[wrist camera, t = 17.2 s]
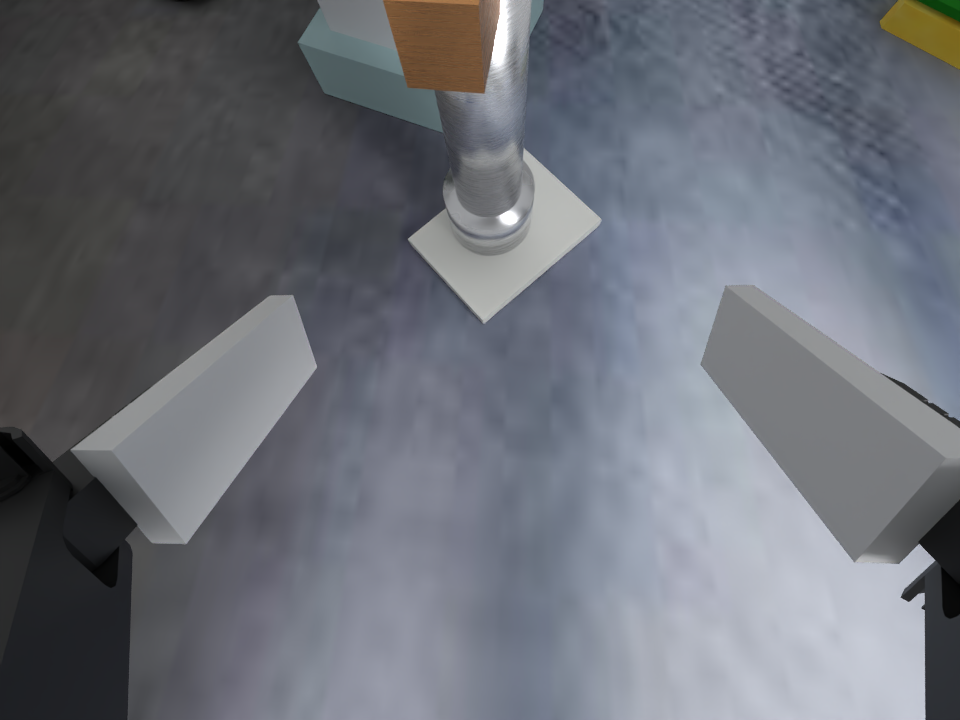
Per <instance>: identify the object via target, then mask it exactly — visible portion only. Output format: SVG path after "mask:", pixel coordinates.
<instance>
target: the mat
mask: <svg viewBox="0 0 960 720" xmlns="http://www.w3.org/2000/svg"><path fill="white" fill-rule="evenodd" d="M523 160H524V161H525V162H526V164H527V165H528V166H529V168H530V170H531V171H532V174H533V177H534V181H535V192H534V201H533V211H532V220H531V226H530V229H529V232H528V234H527V236H526V237H525V239H524V240H523V241H522V242H521V243H520V244H519V245H518V246H517V247H516V248H514V249H513V250H511V251H509V252H507V253H504V254H501V255H496V256H483V255H478V254H475V253H473V252H470V251H469V250H467V249H465V248H464V247H463V246H462V245H461V244H460V243H459V242H458V241H457V239H456V238H455V236H454V234H453V231H452V228H451V224H450V220H449V217H448V213H447V209H446V208H445V209H444V210H443V211H442V212H440V213H439V214H438V215H437V216H435V217H434V218H433V219H432V220H431V221H429V222H428V223H427V224H426V225H424V226H423V227H422V228H421V229H419V230H418V231H417V232H416V233H414V234H413V235H412V236H411V237H410V238H408V240H409V242H410V244H411V246H412V247H413V248H414V249H415V250H416V251H417V252H418V253H419V254H420V255H421V256H422V258H423V259H424V260H425V261H426V262H427V263H428V264H429V265H430V266H431V267H432V269H433V270H434V271H435V272H436V273H437V274H438V275H439V276H440V277H441V278H442V279H443V281H444V282H445V283H446V284H447V285H448V286H449V287H450V288H451V289H452V290H453V291H454V293H455V294H456V295H457V296H458V297H459V298H460V299H461V300H462V301H463V302H464V303H465V305H466V306H467V307H468V308H469V309H470V310H471V311H472V312H473V313H474V314H475V315H476V317H477V318H478V319H479V320H480V321H481V322H482V323H483V324H484V323H485V322H487V321H488V320H489V319H490V318H491V317H493V316H494V315H495V314H496V313H497V312H498V311H500V310H501V309H502V308H503V307H504V306H505V305H507V304H508V303H509V302H510V301H511V300H513V299H514V298H515V297H516V296H517V295H518V294H520V293H521V292H522V291H523V290H524V289H525V288H527V287H528V286H529V285H530V284H531V283H532V282H534V281H535V280H536V279H537V278H538V277H540V276H541V275H542V274H543V273H544V272H545V271H547V270H548V269H549V268H550V267H551V266H552V265H554V264H555V263H556V262H557V261H558V260H560V259H561V258H562V257H563V256H564V255H565V254H567V253H568V252H569V251H570V250H571V249H572V248H574V247H575V246H576V245H577V244H578V243H580V242H581V241H582V240H583V239H584V238H585V237H587V236H588V235H589V234H590V233H591V232H592V231H594V230H595V229H596V228H597V227H598V226H599V225H600V222H601V220H602V219H601V218H599V217H598V216H597V215H596V214H595V213H594V212H593V211H592V210H591V209H590V208H589V207H588V206H586V205H585V204H584V203H583V202H582V201H581V200H580V199H579V198H578V197H577V196H576V195H574V194H573V193H572V192H571V191H570V190H569V189H568V188H567V187H566V186H565V185H564V184H563V183H561V182H560V181H559V180H558V179H557V178H556V177H555V176H554V175H553V174H552V173H551V172H549V171H548V170H547V169H546V168H545V167H544V166H543V165H542V164H541V163H540V162H539V161H538V160H536V159H535V158H534V157H533V156H532V155H531V154H530V153H529V152H528V151H527V150H526V149H524V151H523Z"/></svg>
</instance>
